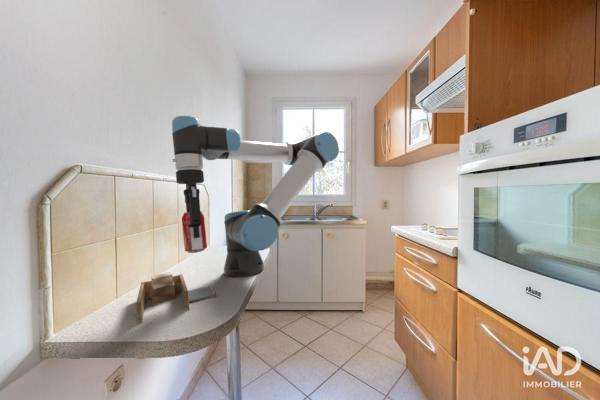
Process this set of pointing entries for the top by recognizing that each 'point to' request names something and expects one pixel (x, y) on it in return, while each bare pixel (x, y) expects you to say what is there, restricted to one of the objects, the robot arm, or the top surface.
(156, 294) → the walnut offcut
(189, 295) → the mat
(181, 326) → the top surface
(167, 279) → the birch offcut
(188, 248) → the beverage can
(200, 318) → the top surface
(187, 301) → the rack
